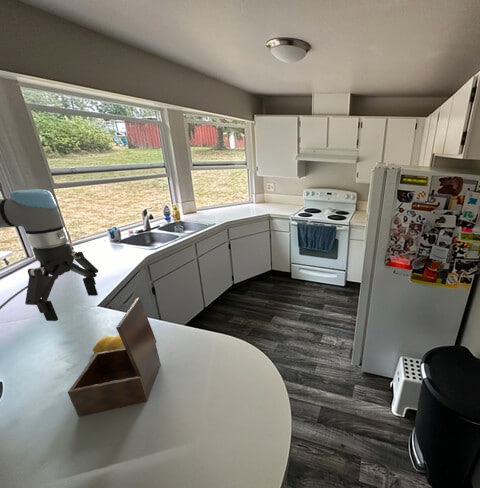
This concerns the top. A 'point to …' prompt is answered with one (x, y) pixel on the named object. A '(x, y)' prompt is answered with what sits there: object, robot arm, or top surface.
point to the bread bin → (112, 382)
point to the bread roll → (108, 344)
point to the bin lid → (137, 336)
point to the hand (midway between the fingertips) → (74, 306)
